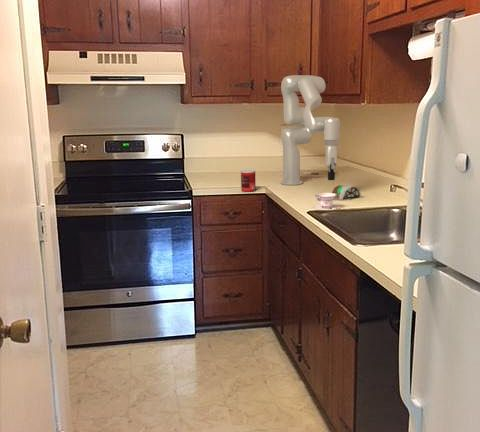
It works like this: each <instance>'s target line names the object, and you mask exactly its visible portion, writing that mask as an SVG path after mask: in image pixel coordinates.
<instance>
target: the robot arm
mask: <svg viewBox="0 0 480 432" xmlns="http://www.w3.org/2000/svg"><path fill="white" fill-rule="evenodd" d="M326 86H327V85H326V82H325V79H324V78H322V77H321V76H316V75H311V74H310V75H309V74H308V75H307V74H305V75H304V74H302V75H301V74H299V75H298V74H294V75H288V76H285V77H283V79H282V81H281V84H280V90H281V95H282V100H283V121H284V124H286V125H288V126H292V127H286V128H284V129H282V131H281V132H280V133H281V136H280V137H281V142H282V165H283V166H282V180H280V185H285V186H298V185H302V184H303V180H301V153H300V152H301V151H300V149H299V148H298V146H297V145H303V144H304V145H305V144H309V143H311V140H312V137H313V133H323V146H324V147H325V151H324V152H325V153H324V154H325V155H324V166H326V167H327V180H328V181H335V177H336V176H335V174H336V170H335V169H336V167H338V166H337V165H338V147H340V141H341V140H340V138H341V137H340V136H341V135H340V134H341V133H340V132H341V129H340V128H341V120H340V118H338V117H332V116H316V117H315V116H314V115H313V112H312V110H314V109H316V108H318V107H319V106H320V105H321V103H322V101H323V100H322V97H321V93H324V92H325V90H326ZM296 92H300V94H301V96H302V99H303V101H304V103H305V106H300V99H299V97H298V94H297V93H296ZM299 125H300V127H299ZM293 126H294V127H293Z"/></svg>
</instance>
